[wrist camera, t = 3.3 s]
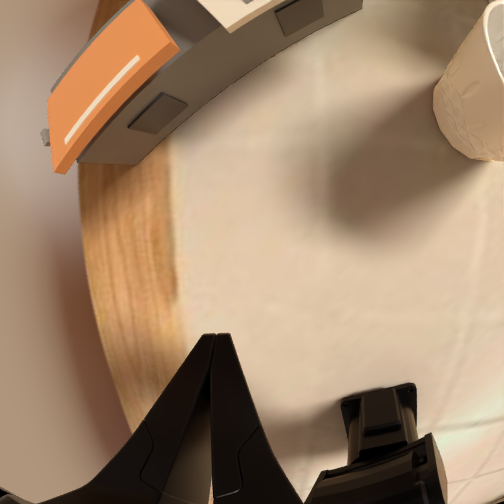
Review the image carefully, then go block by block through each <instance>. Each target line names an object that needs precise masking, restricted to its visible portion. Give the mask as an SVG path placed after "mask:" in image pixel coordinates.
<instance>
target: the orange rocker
mask: <svg viewBox="0 0 504 504" xmlns="http://www.w3.org/2000/svg"><path fill="white" fill-rule="evenodd" d="M179 51H180V49H179V47H178V46H177V45H176V43H175V42H174V40H173V39H172V38H171V36H170V35H169V33H168V32H167V31H166V29H165V28H164V26H163V25H162V24H161V22H160V21H159V20H158V18H157V17H156V16H155V14H154V13H153V12H152V10H151V9H150V8H149V6H148V5H147V4H146V3H145V2H144V1H143V0H135V1H134V2H133V3H132V4H131V5H129V6H128V7H127V8H126V9H125V10H124V11H123V12H122V13H121V14H120V15H119V16H118V17H117V18H115V19H114V20H113V21H112V22H111V23H110V24H109V25H108V26H107V27H106V28H105V29H104V31H103V32H102V33H101V34H100V35H99V36H98V37H97V38H96V39H95V40H94V41H93V42H92V43H91V45H90V46H89V47H88V48H87V49H86V50H85V51H84V53H83V54H82V55H81V56H80V57H79V59H78V60H77V61H76V62H75V63H74V65H73V66H72V67H71V69H70V70H69V71H68V72H67V74H66V75H65V76H64V78H63V79H62V80H61V82H60V83H59V84H58V86H57V87H56V89H55V90H54V91H53V93H52V94H51V96H50V97H49V99H48V119H49V134H50V145H51V154H52V162H53V170H54V172H55V173H60V174H66V172H67V171H68V169H69V168H70V167H71V165H72V164H73V162H74V161H75V160H76V159H77V157H78V156H79V155H80V153H81V152H82V151H83V149H84V148H85V147H86V146H87V144H88V143H89V142H90V141H91V139H92V138H93V137H94V136H95V135H96V133H97V132H98V131H99V130H100V129H101V127H102V126H103V125H104V124H105V123H106V122H107V121H108V119H109V118H110V117H111V116H112V115H113V114H114V113H115V112H116V111H117V110H118V108H119V107H120V106H121V105H122V104H123V103H124V102H125V101H126V100H127V99H128V98H129V97H130V96H131V95H132V94H133V93H134V92H135V91H136V90H137V89H138V88H139V87H140V86H141V85H142V84H143V83H144V82H145V81H146V80H147V79H148V78H149V77H150V76H152V75H153V74H154V73H155V72H156V71H157V70H158V69H159V68H160V67H161V66H163V65H164V64H165V63H166V62H167V61H168V60H170V59H171V58H172V57H173V56H174V55H175V54H177V53H178V52H179Z"/></svg>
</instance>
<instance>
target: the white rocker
mask: <svg viewBox="0 0 504 504" xmlns="http://www.w3.org/2000/svg"><path fill="white" fill-rule="evenodd" d="M197 1H198V2H199V3H200V4H201V5H202V6H203V7H204V8H205V9H206V10H207V11H208V12H209V13H210V14H211V15H212V16H213V17H214V18H215V19H216V20H217V21H218V22H219V23H220V24H221V25H222V26H223V27H224V28H225V29H226V30H227V31H228V32H229V33H232V32H233V31H235V30H236V29H238V28H239V27H241V26H242V25H244V24H246V23H247V22H249V21H250V20H252V19H254V18H255V17H257V16H259V15H260V14H262V13H264V12H265V11H267V10H269V9H270V8H272V7H274V6H276V5H278V4H279V3H281V2H283V1H285V0H197Z"/></svg>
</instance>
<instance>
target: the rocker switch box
mask: <svg viewBox="0 0 504 504" xmlns="http://www.w3.org/2000/svg"><path fill="white" fill-rule="evenodd" d="M134 1H135V0H130V1H128V2H127V3H126V4H125V5H124V6H123V7H122V8H121V9H120V10H119V11H118V12H117V13H116V14H114V15H113V16H112V17H111V18H110V19H109V20H108V21H107V22H106V23H105V24H104V25H103V26H102V28H101V29H100V30H99V31H98V32H97V33H96V34H95V35H94V36H93V37H92V38H91V39H90V40H89V42H88V43H87V44H86V45H85V46H84V47H83V49H82V50H81V51H80V52H79V53H78V54H77V56H76V57H75V58H74V59H73V61H72V62H71V63H70V64H69V66H68V67H67V68H66V70H65V71H64V72H63V73H62V75H61V76H60V78H59V79H58V80H57V82H56V83H55V85H54V86H53V87H52V89H51V93H53V91H54V90H55V89H56V87H57V86H58V84H59V83H60V82H61V80H62V79H63V78H64V76H65V75H66V74H67V72H68V71H69V70H70V69H71V67H72V66H73V65H74V63H75V62H76V61H77V60H78V59H79V57H80V56H81V55H82V54H83V53H84V51H85V50H86V49H87V48H88V47H89V46H90V45H91V43H92V42H93V41H94V40H95V39H96V38H97V37H98V36H99V35H100V34H101V33H102V32H103V31H104V29H105V28H106V27H107V26H108V25H109V24H110V23H111V22H112V21H113V20H114V19H115V18H117V17H118V16H119V15H120V14H121V13H122V12H123V11H124V10H125V9H126V8H127V7H128V6H129V5H131V4H132V3H133V2H134ZM143 1H144V2H145V3H146V4H147V5H148V6H149V8H150V9H151V10H152V12H153V13H154V14H155V16H156V17H157V18H158V20H159V21H160V22H161V24H162V25H163V26H164V28H165V29H166V31H167V32H168V33H169V35H170V36H171V38H172V39H173V40H174V42H175V43H176V45H177V46H178V47H179V49H180V51H179V52H178V53H177V54H175V55H174V56H173V57H172V58H171V59H170V60H168V61H167V62H166V63H165V64H164V65H163V66H161V67H160V68H159V69H158V70H157V71H156V72H155V73H154V74H153V75H152V76H150V77H149V78H148V79H147V80H146V81H145V82H144V83H143V84H142V85H141V86H140V87H139V88H138V89H137V90H136V91H135V92H134V93H133V94H132V95H131V96H130V97H129V98H128V99H127V100H126V101H125V102H124V103H123V104H122V105H121V106H120V107H119V108H118V110H117V111H116V112H115V113H114V114H113V115H112V116H111V117H110V118H109V119H108V121H107V122H106V123H105V124H104V125H103V126H102V127H101V129H100V130H99V131H98V132H97V133H96V135H95V136H94V137H93V138H92V139H91V141H90V142H89V143H88V144H87V146H86V147H85V148H84V149H83V151H82V152H81V153H80V155H79V156H78V157H77V159H76V160H77V163H96V164H123V165H137V164H138V163H139V162H140V161H141V160H142V159H143V158H144V157H145V156H146V155H147V154H148V153H149V152H150V151H151V150H152V149H154V148H155V147H156V146H157V145H158V144H159V143H160V142H161V141H162V140H163V139H164V138H166V137H167V136H168V135H169V134H170V133H171V132H172V131H173V130H175V129H176V128H177V127H178V126H179V125H180V124H182V123H183V122H184V121H185V120H186V119H187V118H189V117H190V116H191V115H192V114H193V113H195V112H196V111H197V110H198V109H200V108H201V107H202V106H203V105H205V104H206V103H207V102H208V101H210V100H211V99H212V98H214V97H215V96H216V95H217V94H219V93H220V92H221V91H223V90H224V89H225V88H227V87H228V86H230V85H231V84H232V83H234V82H235V81H236V80H238V79H239V78H241V77H242V76H244V75H245V74H246V73H248V72H249V71H251V70H252V69H254V68H255V67H257V66H258V65H260V64H261V63H263V62H264V61H266V60H267V59H269V58H271V57H272V56H274V55H275V54H277V53H279V52H280V51H282V50H283V49H285V48H287V47H288V46H290V45H292V44H293V43H295V42H297V41H299V40H300V39H302V38H304V37H306V36H308V35H309V34H311V33H313V32H315V31H317V30H319V29H321V28H322V27H324V26H326V25H328V24H330V23H332V22H334V21H336V20H338V19H340V18H342V17H345V16H347V15H349V14H351V13H353V12H355V11H358V10H360V9H362V3H363V0H285V1H283V2H281V3H279V4H278V5H276V6H274V7H272V8H270V9H269V10H267V11H265V12H264V13H262V14H260V15H259V16H257V17H255V18H254V19H252V20H250V21H249V22H247V23H246V24H244V25H242V26H241V27H239V28H238V29H236V30H235V31H233V32H232V33H229V32H228V31H227V30H226V29H225V28H224V27H223V26H222V25H221V24H220V23H219V22H218V21H217V20H216V19H215V18H214V17H213V16H212V15H211V14H210V13H209V12H208V11H207V10H206V9H205V8H204V7H203V6H202V5H201V4H200V3H199V2H198V1H197V0H143ZM41 136H42V140H43V143H44V146H51V145H50V134H49V129H43V130H42V131H41Z"/></svg>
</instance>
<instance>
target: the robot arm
mask: <svg viewBox="0 0 504 504" xmlns="http://www.w3.org/2000/svg"><path fill="white" fill-rule="evenodd" d="M410 388H412V389H411V390H409V389H410ZM344 403H348V404H344ZM341 410H342V415H343V419H344V424H345V428H346V433H347V438H348V460H347V466H344V467H340V468H337V469H333V470H325V471H321V473H320V475H319V477H318V478H317V480H316V482H315V484H314V486H313V488H312V490H311V492H310V493H309V495H308V497H307V499H306V501H305V502H304V503H303V502H302V500H301V499H300V497H299V496H298V494H297V492H296V491H295V489H294V488H293V486H292V485H291V483H290V481H289V480H288V478H287V476H286V475H285V473H284V471H283V470H282V468H281V466H280V465H279V463H278V461H277V459H276V457H275V455H274V453H273V451H272V449H271V447H270V444H269V442H268V440H267V437H266V435H265V432H264V429H263V427H262V425H261V422H260V419H259V416H258V413H257V411H256V408H255V405H254V402H253V399H252V397H251V394H250V391H249V388H248V385H247V382H246V379H245V376H244V374H243V371H242V368H241V365H240V362H239V359H238V356H237V353H236V350H235V347H234V344H233V340H232V337H231V335H230V333H218V334H215V333H207V334H203V335H202V336H201V338H200V339H199V340H198V342H197V343H196V345H195V346H194V348H193V349H192V351H191V352H190V353H189V355H188V356H187V358H186V359H185V361H184V362H183V364H182V365H181V366H180V368H179V369H178V371H177V372H176V374H175V375H174V377H173V378H172V379H171V381H170V382H169V384H168V385H167V387H166V388H165V389H164V391H163V392H162V394H161V395H160V397H159V398H158V399H157V401H156V402H155V404H154V405H153V407H152V408H151V409H150V411H149V412H148V414H147V415H146V417H145V418H144V420H143V421H142V422H141V424H140V425H139V426H138V428H137V429H136V431H135V432H134V433H133V435H132V436H131V437H130V439H129V440H128V441H127V442H126V444H125V445H124V446H123V447H122V448H121V449H120V451H119V452H118V453H117V454H116V455H115V456H114V457H113V458H112V459H111V460H110V461H109V463H108V464H107V465H106V466H105V467H104V468H103V469H102V470H101V471H100V472H99V473H98V474H97V475H96V476H95V477H94V478H93V479H92V480H91V481H90V482H89V483H87V484H86V485H84V486H82V487H81V488H78V489H76V490H74V491H71V492H68V493H66V494H63V495H61V496H58V497H55V498H52V499H49V500H47V501H44V502H41V503H38V504H208V502H209V494H210V486H211V478H212V487H213V498H214V500H213V504H447V478H446V473H445V469H444V465H443V461H442V458H441V455H440V452H439V450H438V447H437V445H436V442H435V440H434V437H433V435H432V433H429V434H426V435H424V436H425V437H423V438H421V439H418V434H417V429H416V427H417V388H416V385H415V384H414V383H408V384H405V385H401V386H397V387H393V388H389V389H385V390H381V391H376V392H372V393H367V394H362V395H357V396H352V397H347V398H343V399H342V400H341ZM0 504H34V503H31V502H29V501H26V500H24V499H22V498H20V497H18V496H16V495H14V494H12V493H11V492H9V491H7V490H5V489H3V488H1V487H0ZM492 504H504V498H502V499H500V500H498V501H496V502H494V503H492Z"/></svg>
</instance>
